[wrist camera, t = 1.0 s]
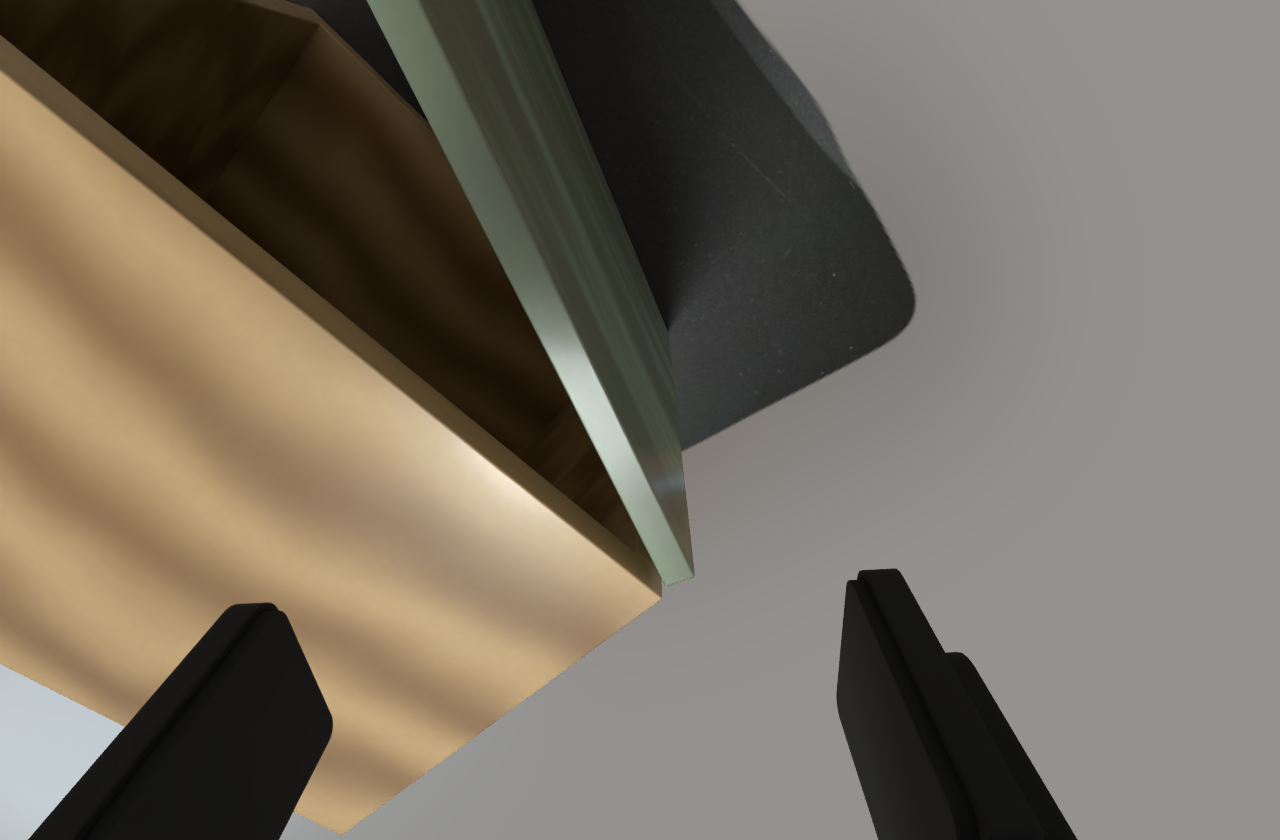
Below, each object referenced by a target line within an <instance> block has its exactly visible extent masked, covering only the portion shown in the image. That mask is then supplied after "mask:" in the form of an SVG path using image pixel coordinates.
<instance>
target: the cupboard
mask: <svg viewBox="0 0 1280 840" xmlns="http://www.w3.org/2000/svg"><path fill="white" fill-rule="evenodd" d="M661 585H662V584H661V577H660V575H659V573H658V571H657V569H656V567H655V565H654V563H653V561H652V559H651V557H650V555H649V553H648V551H647V549H646V547H645V545H644V543H643V541H642V539H641V537H640V535H639V533H638V531H637V529H636V528H635V526H634V524H633V522H632V520H631V518H630V516H629V514H628V512H627V510H626V508H625V506H624V504H623V502H622V500H621V498H620V496H619V494H618V492H617V490H616V488H615V486H614V484H613V482H612V480H611V479H610V477H609V475H608V473H607V471H606V469H605V467H604V465H603V463H602V461H601V459H600V457H599V455H598V453H597V451H596V449H595V447H594V445H593V443H592V441H591V439H590V437H589V435H588V433H587V431H586V430H585V428H584V426H583V424H582V422H581V420H580V418H579V416H578V414H577V412H576V410H575V408H574V406H573V404H572V402H571V400H570V398H569V396H568V394H567V392H566V390H565V388H564V386H563V384H562V382H561V381H560V379H559V377H558V375H557V373H556V371H555V369H554V367H553V365H552V363H551V361H550V359H549V357H548V355H547V353H546V351H545V349H544V347H543V345H542V343H541V341H540V339H539V337H538V335H537V333H536V332H535V330H534V328H533V326H532V324H531V322H530V320H529V318H528V316H527V314H526V312H525V310H524V308H523V306H522V304H521V302H520V300H519V298H518V296H517V294H516V292H515V290H514V288H513V286H512V284H511V283H510V281H509V279H508V277H507V275H506V273H505V271H504V269H503V267H502V265H501V263H500V261H499V259H498V257H497V255H496V253H495V251H494V249H493V247H492V245H491V243H490V241H489V239H488V237H487V235H486V234H485V232H484V230H483V228H482V226H481V224H480V222H479V220H478V218H477V216H476V214H475V212H474V210H473V208H472V206H471V204H470V202H469V200H468V198H467V196H466V194H465V192H464V190H463V188H462V187H461V185H460V183H459V181H458V179H457V177H456V175H455V173H454V171H453V169H452V167H451V165H450V163H449V161H448V159H447V157H446V155H445V153H444V151H443V149H442V147H441V145H440V143H439V141H438V139H437V138H436V136H435V134H434V132H433V130H432V128H431V126H430V124H429V123H428V122H427V121H426V120H425V119H424V118H423V117H422V116H421V115H420V114H419V113H418V112H417V111H416V110H415V109H414V108H413V107H412V106H411V105H410V104H409V103H408V102H407V101H406V100H405V99H404V98H403V97H402V96H401V95H400V94H399V93H398V92H397V91H395V90H394V89H393V88H392V87H391V86H390V85H389V84H388V83H387V82H386V81H385V80H384V79H383V78H382V77H381V76H380V75H379V74H378V73H377V72H376V71H375V70H374V69H373V68H372V67H371V66H370V65H369V64H368V63H367V62H366V61H365V60H364V59H363V58H362V57H361V56H360V55H359V54H358V53H357V52H356V51H355V50H354V49H353V48H352V47H351V46H350V45H349V44H348V43H346V42H345V41H344V40H343V39H342V38H341V37H340V36H339V35H338V34H337V33H336V32H335V31H334V30H333V29H332V28H331V27H330V26H329V25H328V24H327V23H326V22H325V21H324V20H323V19H322V18H321V17H320V16H319V15H318V14H317V13H316V12H315V11H314V10H313V9H310V8H307V7H304V6H300V5H297V4H294V3H291V2H288V1H285V0H0V664H2V665H3V666H5V667H8V668H9V669H12V670H13V671H16V672H17V673H20V674H21V675H24V676H25V677H28V678H30V679H31V680H33V681H35V682H37V683H39V684H41V685H43V686H45V687H47V688H49V689H51V690H53V691H55V692H57V693H59V694H61V695H63V696H65V697H67V698H69V699H71V700H73V701H75V702H77V703H79V704H81V705H83V706H85V707H87V708H89V709H91V710H93V711H95V712H97V713H99V714H101V715H103V716H105V717H107V718H109V719H111V720H113V721H115V722H117V723H119V724H121V725H123V726H126V725H127V724H128V723H129V722H130V721H131V719H132V718H133V717H134V716H135V715H136V714H137V712H138V711H139V710H140V709H141V708H142V707H143V705H144V704H145V703H146V702H147V701H148V700H149V698H150V697H151V696H152V695H153V694H154V693H155V691H156V690H157V689H158V688H159V687H160V686H161V684H162V683H163V682H164V681H165V680H166V679H167V677H168V676H169V675H170V674H171V673H172V672H173V670H174V669H175V668H176V667H177V666H178V665H179V664H180V662H181V661H182V660H183V659H184V658H185V657H186V655H187V654H188V653H189V652H190V651H191V650H192V648H193V647H194V646H195V645H196V644H197V643H198V641H199V640H200V639H201V638H202V637H203V636H204V634H205V633H206V632H207V631H208V630H209V629H210V627H211V626H212V625H213V624H214V623H215V622H216V620H217V619H218V618H219V617H220V616H221V615H222V613H223V612H224V611H225V610H226V609H228V608H229V607H230V606H232V605H234V604H245V603H264V602H269V603H273V604H274V605H276V607H277V608H278V610H279V611H283V612H284V613H285V614H286V615H287V617H288V619H289V622H290V624H291V626H292V628H293V630H294V633H295V635H296V637H297V639H298V642H299V644H300V646H301V648H302V650H303V653H304V655H305V657H306V659H307V662H308V664H309V666H310V668H311V670H312V673H313V675H314V677H315V679H316V681H317V684H318V686H319V688H320V690H321V693H322V695H323V697H324V699H325V701H326V704H327V706H328V708H329V710H330V713H331V715H332V718H333V731H332V735H331V738H330V740H329V743H328V745H327V747H326V749H325V750H324V752H323V754H322V756H321V758H320V760H319V762H318V764H317V766H316V768H315V770H314V772H313V774H312V776H311V778H310V780H309V782H308V784H307V786H306V788H305V790H304V791H303V793H302V795H301V797H300V799H299V801H298V803H297V805H296V807H295V809H294V811H293V812H296V813H298V814H299V815H301V816H303V817H306V818H307V819H310V820H311V821H313V822H315V823H317V824H319V825H321V826H323V827H325V828H327V829H329V830H331V831H333V832H335V833H337V834H339V835H343V834H344V833H346V832H347V831H348V830H350V829H351V828H352V827H354V826H355V825H356V824H358V823H359V822H360V821H362V820H363V819H364V818H366V817H367V816H368V815H370V814H371V813H372V812H374V811H375V810H377V809H378V808H379V807H380V806H382V805H383V804H385V803H386V802H387V801H389V800H390V799H391V798H393V797H394V796H396V795H397V794H398V793H400V792H401V791H402V790H403V789H405V788H406V787H408V786H409V785H410V784H412V783H413V782H414V781H416V780H417V779H419V778H420V777H421V776H423V775H424V774H425V773H426V772H428V771H429V770H431V769H432V768H433V767H435V766H436V765H438V764H439V763H440V762H442V761H443V760H444V759H446V758H447V757H448V756H450V755H451V754H452V753H454V752H455V751H456V750H458V749H459V748H460V747H462V746H463V745H464V744H466V743H467V742H468V741H470V740H471V739H473V738H474V737H475V736H477V735H478V734H479V733H481V732H482V731H484V730H485V729H486V728H488V727H489V726H490V725H491V724H493V723H494V722H496V721H497V720H498V719H500V718H501V717H502V716H504V715H505V714H506V713H508V712H509V711H510V710H512V709H513V708H515V707H516V706H517V705H518V704H520V703H521V702H523V701H524V700H525V699H527V698H528V697H529V696H531V695H532V694H534V693H535V692H536V691H538V690H539V689H540V688H542V687H543V686H544V685H546V684H547V683H548V682H549V681H551V680H552V679H554V678H555V677H557V676H558V675H559V674H561V673H562V672H563V671H564V670H566V669H567V668H569V667H570V666H571V665H573V664H574V663H575V662H577V661H578V660H580V659H581V658H582V657H584V656H585V655H586V654H588V653H589V652H590V651H592V650H593V649H594V648H596V647H597V646H598V645H600V644H601V643H602V642H604V641H605V640H606V639H608V638H609V637H611V636H612V635H613V634H614V633H616V632H617V631H619V630H620V629H621V628H623V627H624V626H625V625H627V624H628V623H630V622H631V621H632V620H634V619H635V618H636V617H637V616H639V615H640V614H642V613H643V612H644V611H646V610H647V609H648V608H650V607H651V606H653V605H654V604H655V603H656V602H658V601H659V600H660V599H661V598H662V586H661Z"/></svg>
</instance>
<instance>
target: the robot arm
mask: <svg viewBox="0 0 1280 840" xmlns="http://www.w3.org/2000/svg"><path fill="white" fill-rule="evenodd" d="M844 607H845V608H844V617H843V628H842V639H841V650H840V662H839V672H838V683H837V707H838V713H839V717H840V720H841V723H842V726H843V730H844V733H845V736H846V739H847V742H848V745H849V749H850V752H851V755H852V758H853V761H854V764H855V767H856V771H857V774H858V777H859V780H860V783H861V786H862V790H863V793H864V796H865V799H866V802H867V805H868V808H869V811H870V814H871V818H872V821H873V824H874V827H875V830H876V834H877V837H878V840H1077V839H1076V837H1075V835H1074V833H1073V832H1072V830H1071V828H1070V826H1069V825H1068V823H1067V821H1066V820H1065V818H1064V816H1063V815H1062V813H1061V811H1060V810H1059V808H1058V806H1057V805H1056V803H1055V801H1054V799H1053V798H1052V796H1051V794H1050V793H1049V791H1048V789H1047V788H1046V786H1045V784H1044V783H1043V781H1042V779H1041V778H1040V776H1039V774H1038V773H1037V771H1036V769H1035V767H1034V766H1033V764H1032V763H1031V761H1030V759H1029V757H1028V756H1027V754H1026V752H1025V751H1024V749H1023V747H1022V746H1021V744H1020V742H1019V741H1018V739H1017V737H1016V735H1015V734H1014V732H1013V730H1012V729H1011V727H1010V725H1009V724H1008V722H1007V720H1006V719H1005V717H1004V715H1003V714H1002V712H1001V711H1000V709H999V707H998V705H997V703H996V702H995V700H994V699H993V697H992V695H991V694H990V692H989V690H988V689H987V687H986V685H985V683H984V682H983V680H982V678H981V677H980V675H979V673H978V671H977V670H976V668H975V667H974V665H973V664H972V662H971V661H970V660H969V658H968V657H966V656H965V655H964V654H963V653H959V652H951V653H945V652H944V650H943V648H942V646H941V644H940V643H939V641H938V639H937V637H936V635H935V634H934V632H933V630H932V628H931V626H930V625H929V623H928V621H927V619H926V617H925V616H924V614H923V612H922V610H921V609H920V607H919V605H918V603H917V601H916V599H915V597H914V596H913V594H912V592H911V590H910V588H909V587H908V585H907V583H906V581H905V579H904V578H903V576H902V575H901V573H900V571H899V570H897V569H878V570H862V571H859V573H858V577H857V580H849V581H848V582H847V586H846V596H845V606H844ZM332 731H333V718H332V715H331V713H330V710H329V708H328V706H327V704H326V701H325V699H324V697H323V695H322V693H321V690H320V688H319V686H318V684H317V681H316V679H315V677H314V675H313V673H312V670H311V668H310V666H309V664H308V662H307V659H306V657H305V655H304V653H303V650H302V648H301V646H300V644H299V642H298V639H297V637H296V635H295V633H294V630H293V628H292V626H291V624H290V622H289V619H288V617H287V615H286V614H285V613H284V612H283V611H279V610H278V608H277V607H276V605H274V604H273V603H269V602H264V603H245V604H234V605H232V606H230V607H229V608H228V609H226V610H225V611H224V612H223V613H222V615H221V616H220V617H219V618H218V619H217V620H216V622H215V623H214V624H213V625H212V626H211V627H210V629H209V630H208V631H207V632H206V633H205V634H204V636H203V637H202V638H201V639H200V640H199V641H198V643H197V644H196V645H195V646H194V647H193V648H192V650H191V651H190V652H189V653H188V654H187V655H186V657H185V658H184V659H183V660H182V661H181V662H180V664H179V665H178V666H177V667H176V668H175V669H174V670H173V672H172V673H171V674H170V675H169V676H168V677H167V679H166V680H165V681H164V682H163V683H162V684H161V686H160V687H159V688H158V689H157V690H156V691H155V693H154V694H153V695H152V696H151V697H150V698H149V700H148V701H147V702H146V703H145V704H144V705H143V707H142V708H141V709H140V710H139V711H138V712H137V714H136V715H135V716H134V717H133V718H132V719H131V721H130V722H129V723H128V724H127V725H126V726H125V728H124V729H123V730H122V731H121V732H120V733H119V734H118V736H117V737H116V738H115V739H114V740H113V741H112V743H111V744H110V745H109V746H108V747H107V749H106V750H105V751H104V752H103V753H102V754H101V755H100V757H99V758H98V759H97V760H96V761H95V762H94V764H93V765H92V766H91V767H90V769H88V771H87V772H86V773H85V774H84V775H83V776H82V778H81V779H80V780H79V781H78V782H77V783H76V785H75V786H74V787H73V788H72V789H71V790H70V792H69V793H68V794H67V795H66V796H65V798H63V800H62V801H61V802H60V803H59V804H58V806H57V807H56V808H55V809H54V810H53V811H52V812H51V814H50V815H49V816H48V817H47V818H46V819H45V821H44V822H43V823H42V824H41V825H40V827H39V828H38V829H37V830H36V831H35V832H34V833H33V835H32V836H31V837H30V838H29V839H28V840H279V838H280V836H281V834H282V832H283V831H284V829H285V827H286V825H287V823H288V821H289V819H290V817H291V815H292V813H293V811H294V809H295V807H296V805H297V803H298V801H299V799H300V797H301V795H302V793H303V791H304V790H305V788H306V786H307V784H308V782H309V780H310V778H311V776H312V774H313V772H314V770H315V768H316V766H317V764H318V762H319V760H320V758H321V756H322V754H323V752H324V750H325V749H326V747H327V745H328V743H329V740H330V738H331V735H332Z"/></svg>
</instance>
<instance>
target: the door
mask: <svg viewBox="0 0 1280 840" xmlns="http://www.w3.org/2000/svg"><path fill="white" fill-rule="evenodd" d="M367 2H368V4H369V6H370V8H371V10H372V12H373V14H374V16H375V18H376V20H377V22H378V24H379V26H380V28H381V30H382V32H383V34H384V36H385V38H386V40H387V41H388V43H389V45H390V47H391V49H392V51H393V53H394V55H395V57H396V59H397V61H398V63H399V65H400V67H401V69H402V71H403V73H404V75H405V77H406V79H407V81H408V83H409V85H410V87H411V89H412V90H413V92H414V94H415V96H416V98H417V100H418V102H419V104H420V106H421V108H422V110H423V112H424V114H425V116H426V118H427V120H428V122H429V124H430V126H431V128H432V130H433V132H434V134H435V136H436V138H437V139H438V141H439V143H440V145H441V147H442V149H443V151H444V153H445V155H446V157H447V159H448V161H449V163H450V165H451V167H452V169H453V171H454V173H455V175H456V177H457V179H458V181H459V183H460V185H461V187H462V188H463V190H464V192H465V194H466V196H467V198H468V200H469V202H470V204H471V206H472V208H473V210H474V212H475V214H476V216H477V218H478V220H479V222H480V224H481V226H482V228H483V230H484V232H485V234H486V235H487V237H488V239H489V241H490V243H491V245H492V247H493V249H494V251H495V253H496V255H497V257H498V259H499V261H500V263H501V265H502V267H503V269H504V271H505V273H506V275H507V277H508V279H509V281H510V283H511V284H512V286H513V288H514V290H515V292H516V294H517V296H518V298H519V300H520V302H521V304H522V306H523V308H524V310H525V312H526V314H527V316H528V318H529V320H530V322H531V324H532V326H533V328H534V330H535V332H536V333H537V335H538V337H539V339H540V341H541V343H542V345H543V347H544V349H545V351H546V353H547V355H548V357H549V359H550V361H551V363H552V365H553V367H554V369H555V371H556V373H557V375H558V377H559V379H560V381H561V382H562V384H563V386H564V388H565V390H566V392H567V394H568V396H569V398H570V400H571V402H572V404H573V406H574V408H575V410H576V412H577V414H578V416H579V418H580V420H581V422H582V424H583V426H584V428H585V430H586V431H587V433H588V435H589V437H590V439H591V441H592V443H593V445H594V447H595V449H596V451H597V453H598V455H599V457H600V459H601V461H602V463H603V465H604V467H605V469H606V471H607V473H608V475H609V477H610V479H611V480H612V482H613V484H614V486H615V488H616V490H617V492H618V494H619V496H620V498H621V500H622V502H623V504H624V506H625V508H626V510H627V512H628V514H629V516H630V518H631V520H632V522H633V524H634V526H635V528H636V529H637V531H638V533H639V535H640V537H641V539H642V541H643V543H644V545H645V547H646V549H647V551H648V553H649V555H650V557H651V559H652V561H653V563H654V565H655V567H656V569H657V571H658V573H659V575H660V577H661V578H662V580H663V582H664V584H665V585H666V586H668V585H671V584H674V583H678V582H681V581H684V580H687V579H690V578H693V577H694V565H693V556H692V547H691V537H690V529H689V519H688V510H687V500H686V491H685V482H684V473H683V464H682V454H681V445H680V436H679V427H678V418H677V408H676V399H675V390H674V381H673V371H672V362H671V353H670V344H669V335H668V331H667V328H666V326H665V324H664V321H663V319H662V316H661V314H660V311H659V309H658V307H657V304H656V302H655V299H654V297H653V294H652V292H651V290H650V287H649V285H648V282H647V280H646V277H645V275H644V273H643V270H642V268H641V265H640V263H639V260H638V258H637V255H636V253H635V251H634V248H633V246H632V243H631V241H630V238H629V236H628V234H627V231H626V229H625V226H624V224H623V221H622V219H621V217H620V214H619V212H618V209H617V207H616V204H615V202H614V200H613V197H612V195H611V192H610V190H609V187H608V185H607V183H606V180H605V178H604V175H603V173H602V170H601V168H600V165H599V163H598V161H597V158H596V156H595V153H594V151H593V148H592V146H591V144H590V141H589V139H588V136H587V134H586V131H585V129H584V127H583V124H582V122H581V119H580V117H579V114H578V112H577V110H576V107H575V105H574V102H573V100H572V97H571V95H570V93H569V90H568V88H567V85H566V83H565V80H564V78H563V76H562V73H561V71H560V68H559V66H558V63H557V61H556V58H555V56H554V54H553V51H552V49H551V46H550V44H549V41H548V39H547V37H546V34H545V32H544V29H543V27H542V24H541V22H540V20H539V17H538V15H537V12H536V10H535V7H534V5H533V3H532V0H367Z"/></svg>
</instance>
